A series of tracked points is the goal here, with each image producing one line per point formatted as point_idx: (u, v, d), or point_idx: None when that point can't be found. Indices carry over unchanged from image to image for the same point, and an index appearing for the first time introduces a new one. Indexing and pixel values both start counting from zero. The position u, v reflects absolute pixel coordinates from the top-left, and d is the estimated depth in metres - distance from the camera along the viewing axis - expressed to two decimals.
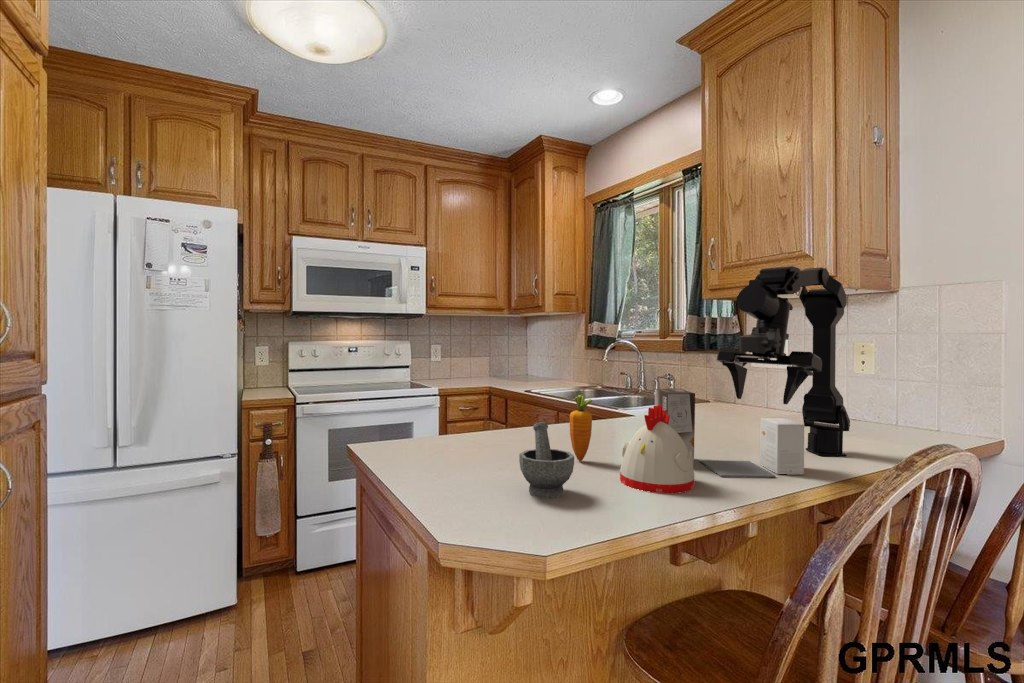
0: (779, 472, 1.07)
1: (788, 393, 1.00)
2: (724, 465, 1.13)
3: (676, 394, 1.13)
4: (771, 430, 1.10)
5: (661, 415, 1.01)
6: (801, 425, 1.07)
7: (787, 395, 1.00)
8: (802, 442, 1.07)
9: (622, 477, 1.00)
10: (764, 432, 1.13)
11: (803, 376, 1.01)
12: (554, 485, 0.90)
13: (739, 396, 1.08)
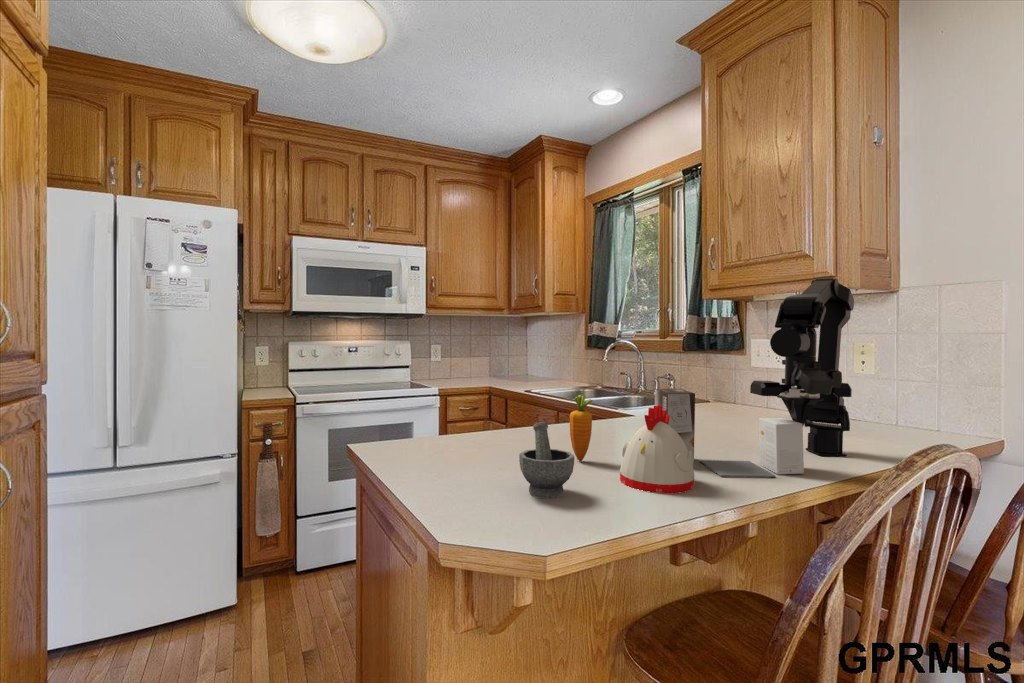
0: (779, 472, 1.07)
1: (804, 420, 1.10)
2: (724, 465, 1.13)
3: (676, 394, 1.13)
4: (770, 430, 1.10)
5: (661, 415, 1.01)
6: (799, 424, 1.07)
7: (804, 422, 1.10)
8: (801, 441, 1.07)
9: (622, 477, 1.00)
10: (762, 432, 1.13)
11: None
12: (554, 485, 0.90)
13: None
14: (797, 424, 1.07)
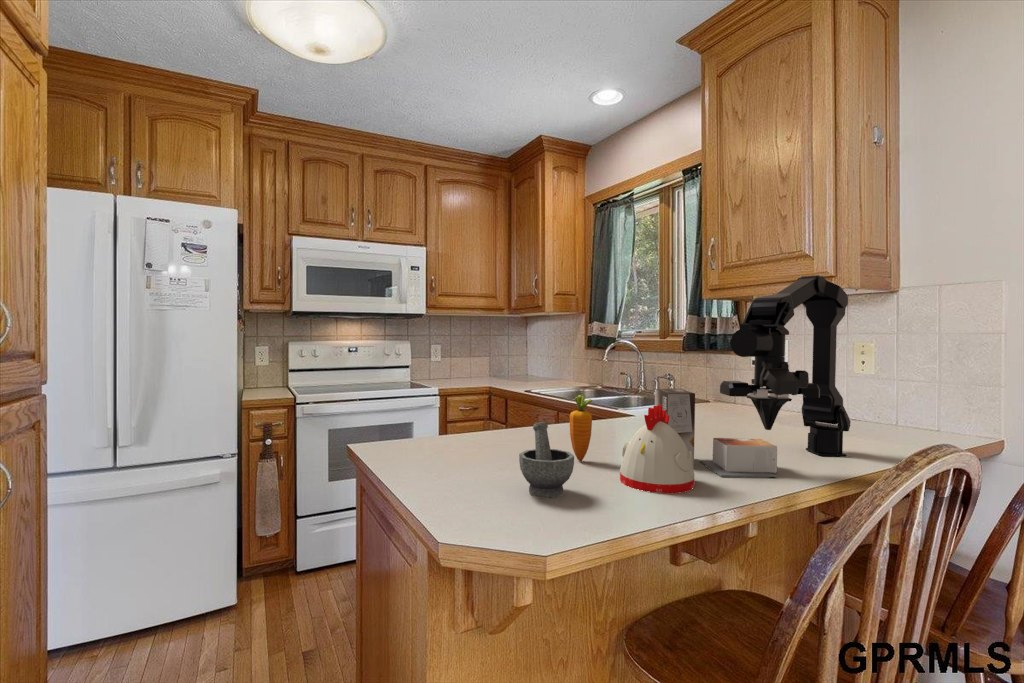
0: (774, 470, 1.07)
1: (773, 420, 1.10)
2: None
3: (676, 394, 1.13)
4: None
5: (661, 415, 1.01)
6: (727, 448, 1.07)
7: (773, 422, 1.10)
8: (744, 447, 1.07)
9: (622, 477, 1.00)
10: None
11: None
12: (554, 485, 0.90)
13: None
14: (727, 450, 1.07)
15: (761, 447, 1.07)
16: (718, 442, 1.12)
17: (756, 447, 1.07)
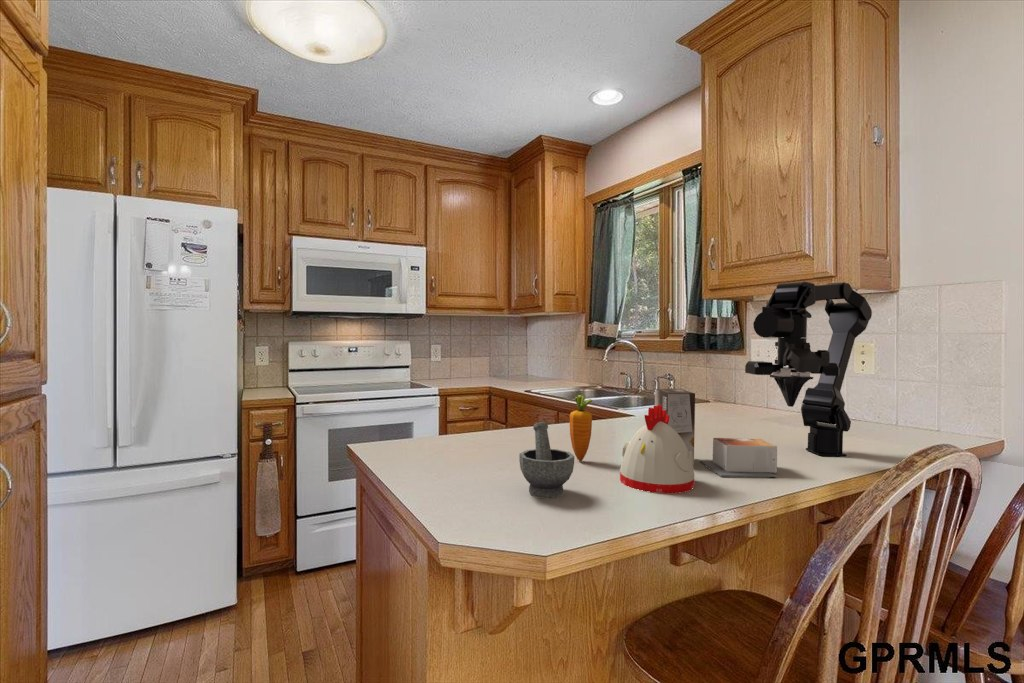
0: (774, 470, 1.07)
1: (795, 397, 1.18)
2: None
3: (676, 394, 1.13)
4: None
5: (661, 415, 1.01)
6: (727, 448, 1.07)
7: None
8: (744, 447, 1.07)
9: (622, 477, 1.00)
10: None
11: None
12: (554, 485, 0.90)
13: None
14: (727, 450, 1.07)
15: (761, 447, 1.07)
16: (718, 442, 1.12)
17: (756, 447, 1.07)
